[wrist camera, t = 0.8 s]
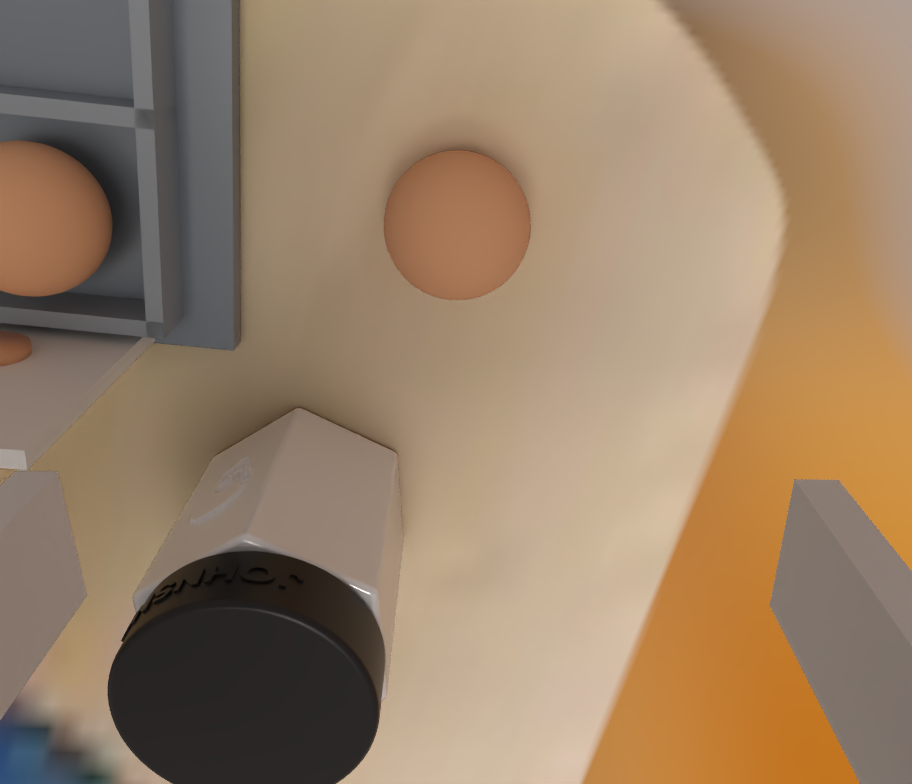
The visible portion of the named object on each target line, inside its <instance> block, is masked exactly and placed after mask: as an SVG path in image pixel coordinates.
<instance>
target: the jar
mask: <svg viewBox="0 0 912 784" xmlns="http://www.w3.org/2000/svg"><path fill="white" fill-rule="evenodd" d="M402 550H403V527H402V512H401V498H400V483H399V468H398V456H397V454H396V453H395V452H394V451H392V450H390V449H387V448H385V447H383V446H381V445H379V444H377V443H375V442H372V441H370V440H368V439H366V438H364V437H362V436H360V435H358V434H355V433H353V432H351V431H349V430H347V429H345V428H343V427H340V426H338V425H336V424H334V423H332V422H330V421H328V420H326V419H323V418H321V417H319V416H317V415H315V414H313V413H311V412H308V411H306V410H304V409H302V408H296V409H294V410H292V411H291V412H289V413H287V414H286V415H284V416H282V417H281V418H279V419H277V420H275V421H274V422H272V423H270V424H269V425H267V426H265V427H264V428H262V429H260V430H258V431H257V432H255V433H253V434H252V435H250V436H248V437H247V438H245V439H243V440H241V441H240V442H238V443H236V444H235V445H233V446H231V447H230V448H228V449H226V450H224V451H223V452H221V453H219V454H218V455H216V456H214V457H213V458H212V460H211V462H210V463H209V465H208V467H207V469H206V470H205V472H204V474H203V475H202V477H201V479H200V481H199V482H198V484H197V486H196V488H195V489H194V491H193V493H192V494H191V496H190V498H189V500H188V501H187V503H186V505H185V506H184V508H183V510H182V512H181V513H180V515H179V517H178V519H177V520H176V522H175V524H174V525H173V527H172V529H171V531H170V532H169V534H168V536H167V538H166V539H165V541H164V543H163V544H162V546H161V548H160V550H159V551H158V553H157V555H156V557H155V558H154V560H153V562H152V563H151V565H150V567H149V569H148V570H147V572H146V574H145V575H144V577H143V579H142V581H141V582H140V584H139V586H138V588H137V589H136V591H135V593H134V595H133V602H134V606H135V611H136V615H135V616H134V618H133V620H132V622H131V623H130V625H129V627H128V629H127V631H126V632H125V634H124V636H123V638H122V640H121V641H122V642H123V643H122V645H121V647H120V649H119V651H118V653H117V654H116V656H115V659H114V661H113V664H112V667H111V670H110V674H109V680H108V701H109V707H110V711H111V715H112V718H113V721H114V723H115V726H116V728H117V730H118V732H119V734H120V736H121V737H122V739H123V740H124V742H125V743H126V745H127V746H128V747H129V748H130V750H131V751H132V752H133V753H134V754H135V755H136V756H137V758H138V759H139V760H140V761H141V762H143V763H144V764H145V765H146V766H147V767H148V768H150V769H151V770H152V771H154V772H155V773H156V774H158V775H159V776H161V777H162V778H164V779H165V780H167V781H169V782H170V783H172V784H336V783H338V782H339V781H341V780H342V779H343V778H345V777H346V776H347V775H348V774H350V773H351V772H352V771H353V770H354V769H355V768H356V767H357V766H358V765H359V763H360V762H361V761H362V760H363V759H364V757H365V756H366V754H367V753H368V751H369V749H370V747H371V745H372V743H373V741H374V738H375V735H376V732H377V729H378V724H379V717H380V708H381V701H382V700H383V699H384V698H385V697H386V695H387V688H388V679H389V670H390V661H391V651H392V642H393V633H394V624H395V615H396V605H397V596H398V587H399V578H400V569H401V559H402Z"/></svg>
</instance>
